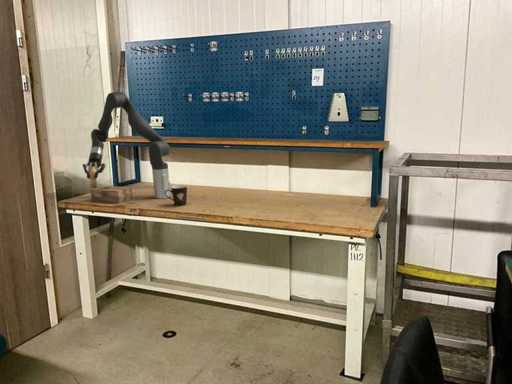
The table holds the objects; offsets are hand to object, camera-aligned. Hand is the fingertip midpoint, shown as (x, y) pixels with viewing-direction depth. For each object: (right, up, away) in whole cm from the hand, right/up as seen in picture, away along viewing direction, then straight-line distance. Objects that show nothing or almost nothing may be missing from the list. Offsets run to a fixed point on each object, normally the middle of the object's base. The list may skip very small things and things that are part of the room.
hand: (91, 177), depth 249 cm
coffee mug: (+56, -16, -23) cm, 63 cm away
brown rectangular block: (+14, -13, -6) cm, 20 cm away
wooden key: (0, -7, +3) cm, 8 cm away
